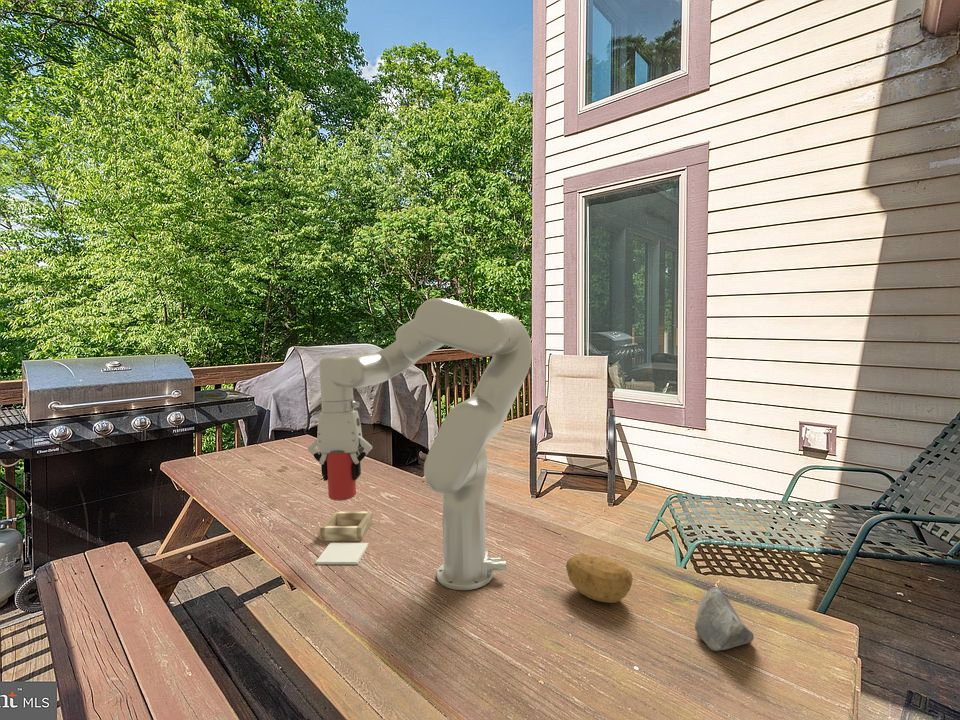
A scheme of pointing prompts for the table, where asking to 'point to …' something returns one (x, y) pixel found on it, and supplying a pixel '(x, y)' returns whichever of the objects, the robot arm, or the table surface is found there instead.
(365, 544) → the coaster
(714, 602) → the stone
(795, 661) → the table surface
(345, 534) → the frame
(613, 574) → the potato
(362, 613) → the table surface
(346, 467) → the beer can
